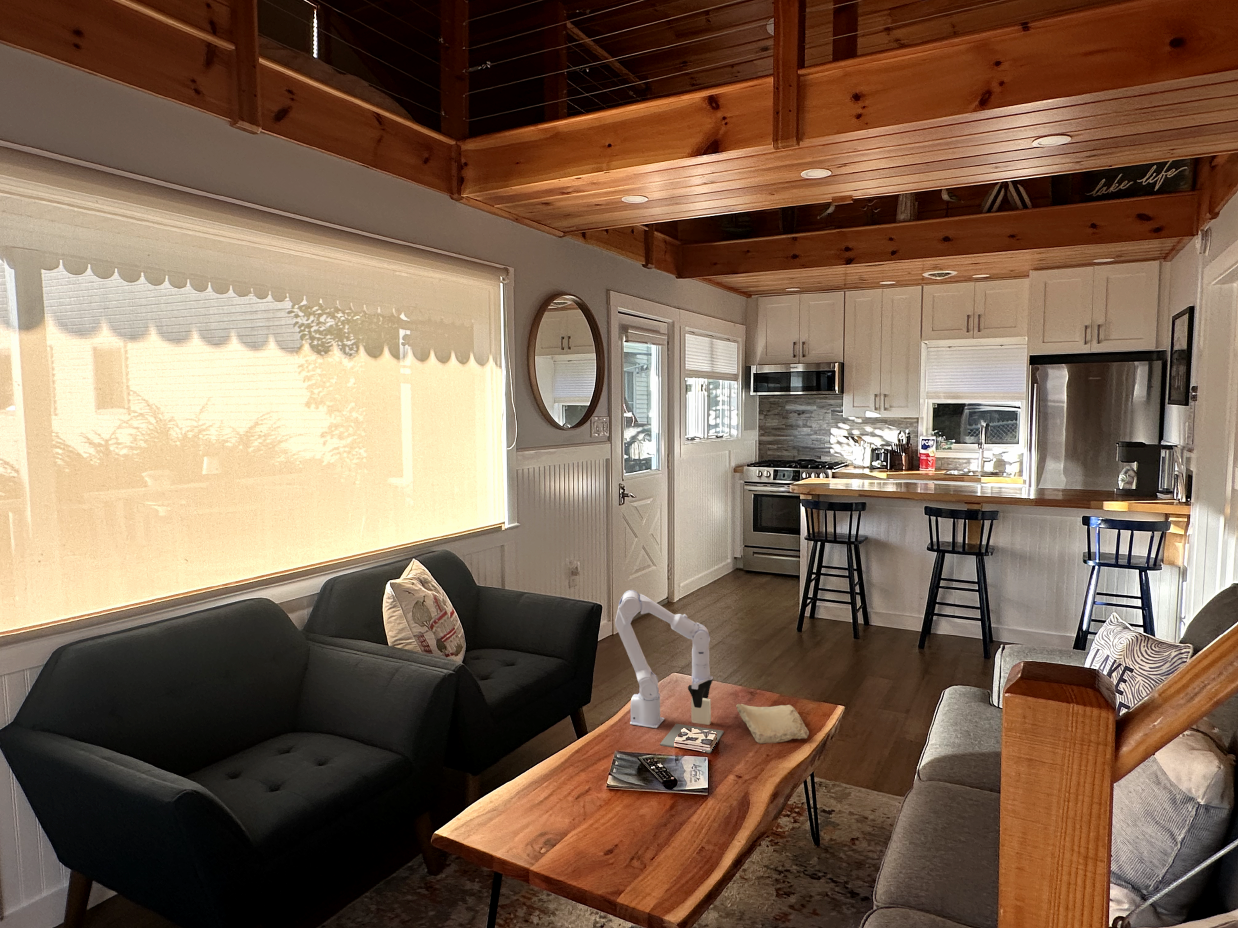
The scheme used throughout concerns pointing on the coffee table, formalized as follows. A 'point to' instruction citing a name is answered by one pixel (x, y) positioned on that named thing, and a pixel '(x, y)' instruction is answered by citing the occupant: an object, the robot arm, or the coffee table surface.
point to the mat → (677, 729)
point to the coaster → (701, 712)
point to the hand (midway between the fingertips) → (701, 702)
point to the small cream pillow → (773, 723)
